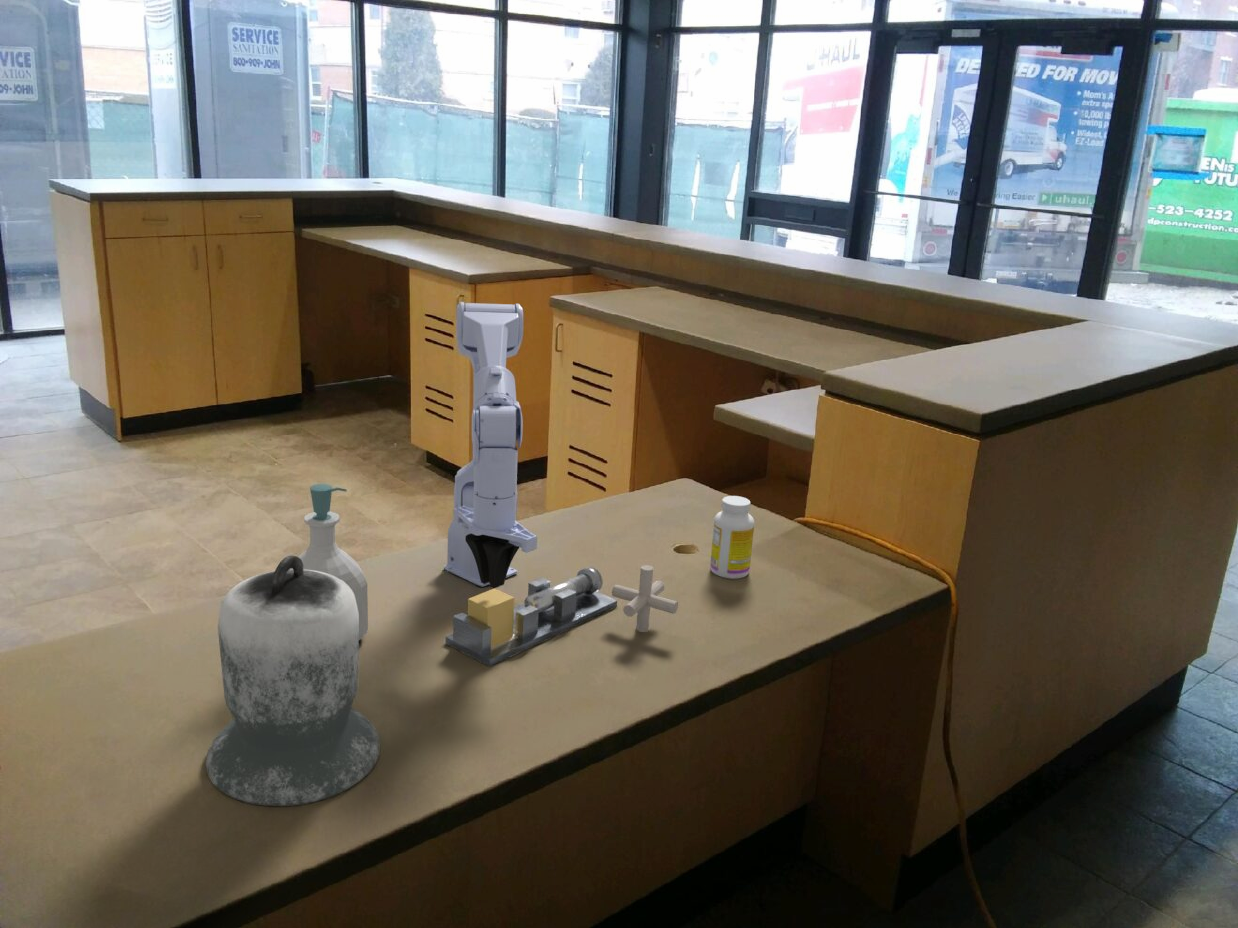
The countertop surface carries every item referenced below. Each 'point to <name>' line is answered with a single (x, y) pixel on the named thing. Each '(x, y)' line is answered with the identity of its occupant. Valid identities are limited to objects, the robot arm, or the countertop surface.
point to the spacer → (494, 613)
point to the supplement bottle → (732, 539)
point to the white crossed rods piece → (644, 598)
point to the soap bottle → (333, 551)
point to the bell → (290, 690)
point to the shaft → (582, 583)
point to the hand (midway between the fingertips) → (492, 583)
